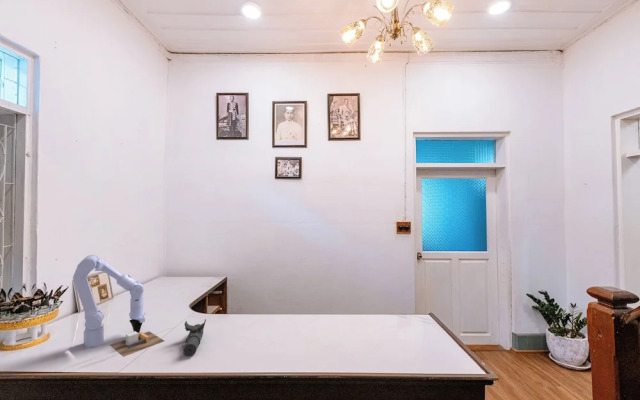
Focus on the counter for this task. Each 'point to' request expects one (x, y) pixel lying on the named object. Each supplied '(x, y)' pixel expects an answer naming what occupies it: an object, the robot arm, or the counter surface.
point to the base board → (136, 344)
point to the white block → (131, 338)
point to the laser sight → (193, 338)
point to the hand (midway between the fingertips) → (136, 332)
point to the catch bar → (143, 337)
